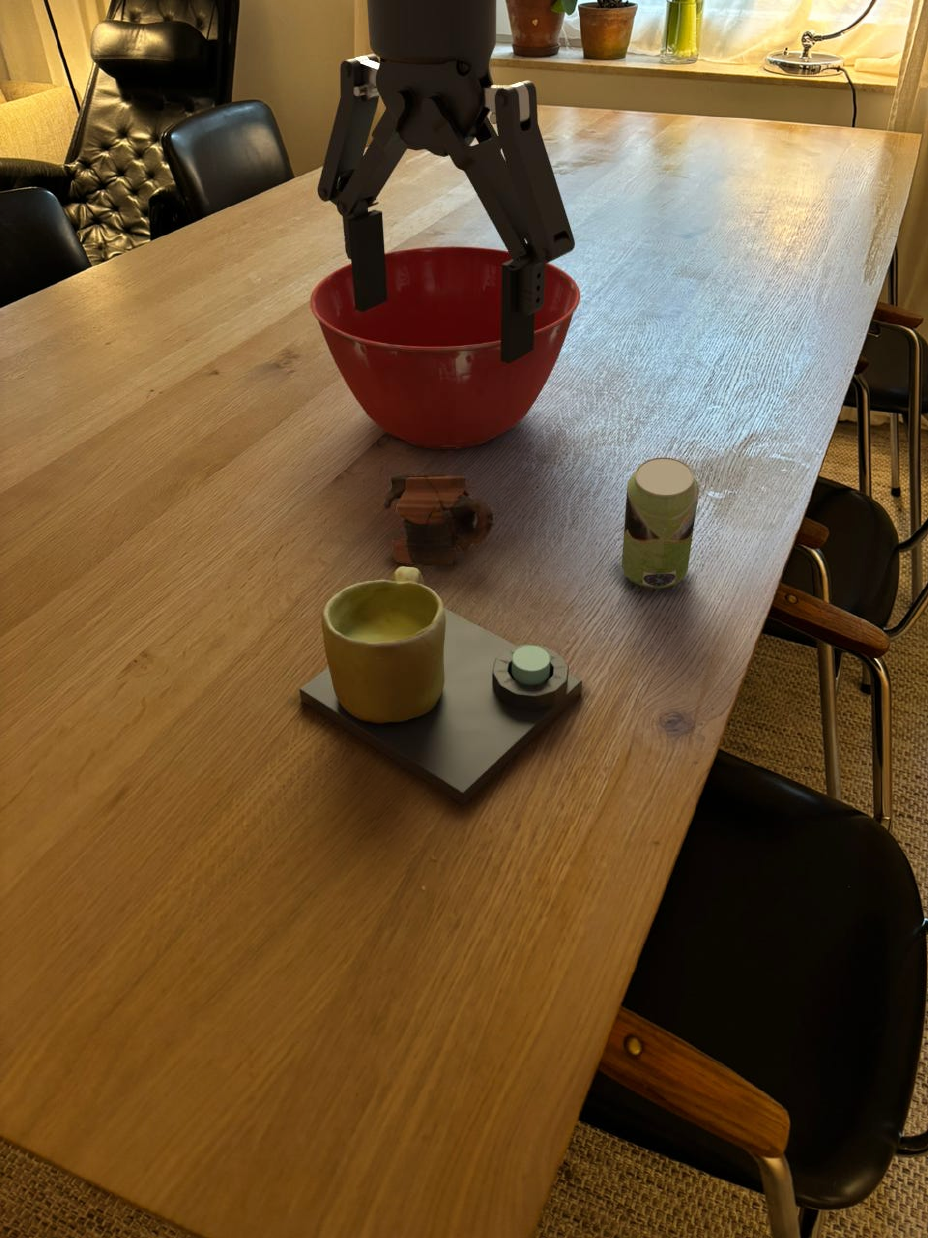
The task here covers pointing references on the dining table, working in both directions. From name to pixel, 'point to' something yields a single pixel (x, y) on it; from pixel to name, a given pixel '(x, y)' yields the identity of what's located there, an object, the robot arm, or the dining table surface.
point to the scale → (462, 712)
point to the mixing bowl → (441, 345)
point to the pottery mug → (436, 518)
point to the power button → (530, 665)
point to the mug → (386, 647)
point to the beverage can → (659, 522)
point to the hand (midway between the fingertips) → (440, 329)
